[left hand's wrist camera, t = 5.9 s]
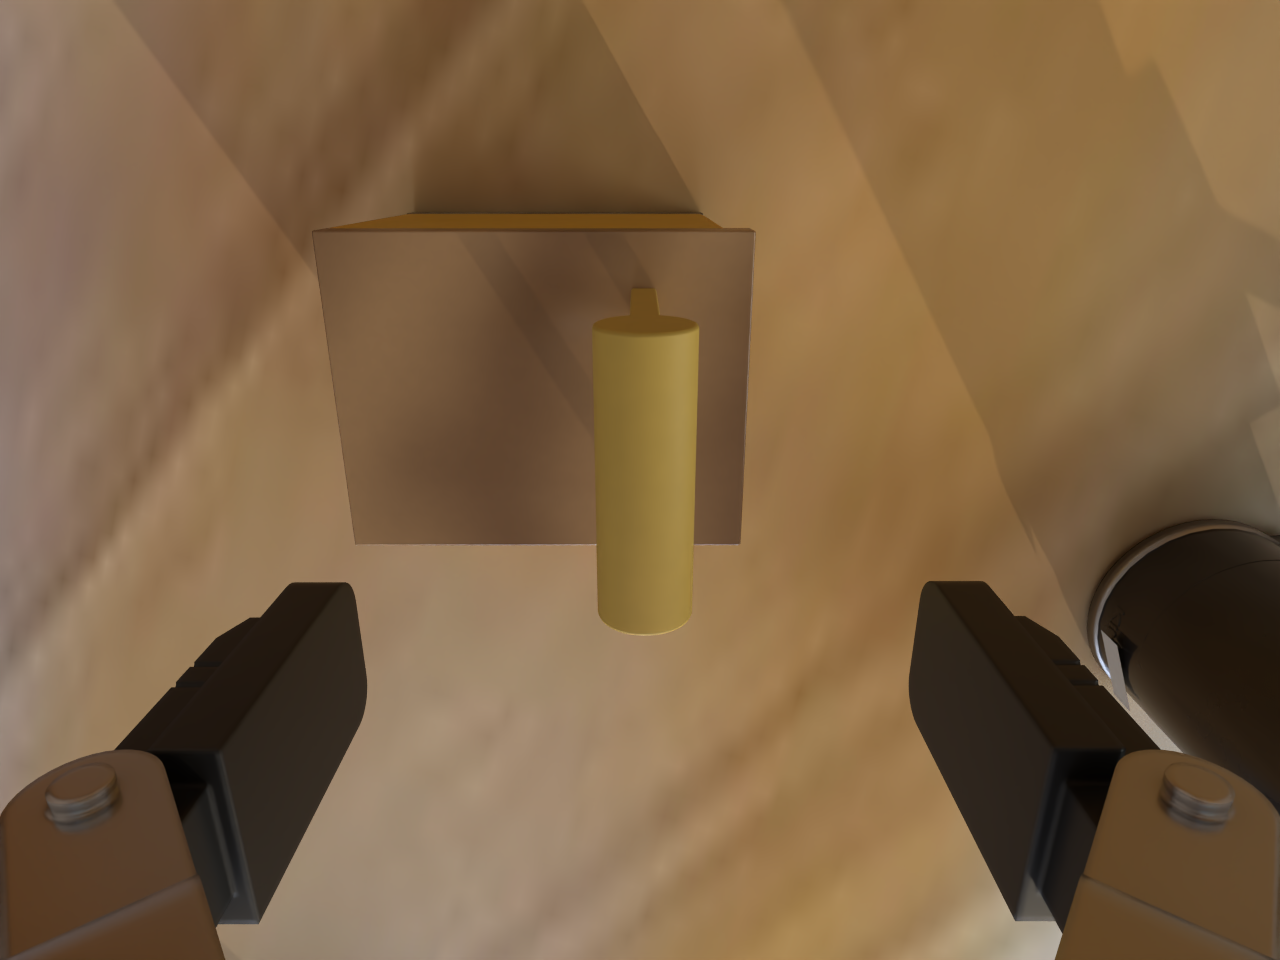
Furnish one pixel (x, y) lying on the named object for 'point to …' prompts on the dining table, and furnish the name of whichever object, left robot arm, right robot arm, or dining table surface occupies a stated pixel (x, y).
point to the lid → (546, 394)
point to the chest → (540, 220)
